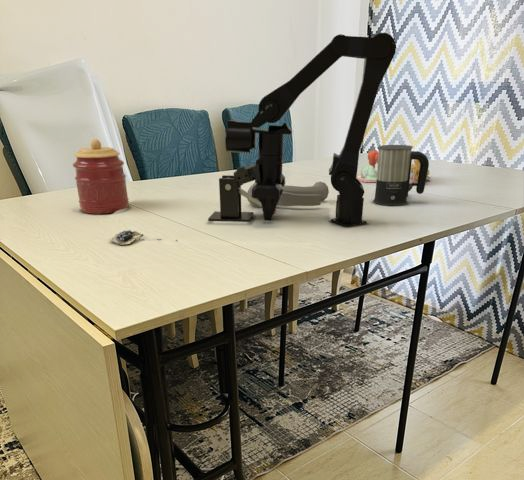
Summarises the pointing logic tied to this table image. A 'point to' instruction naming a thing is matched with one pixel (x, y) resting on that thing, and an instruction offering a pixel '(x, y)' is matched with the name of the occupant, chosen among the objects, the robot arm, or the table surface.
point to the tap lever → (250, 197)
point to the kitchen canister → (100, 179)
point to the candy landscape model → (369, 171)
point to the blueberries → (125, 237)
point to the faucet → (299, 195)
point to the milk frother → (398, 174)
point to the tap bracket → (230, 202)
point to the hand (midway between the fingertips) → (268, 221)
